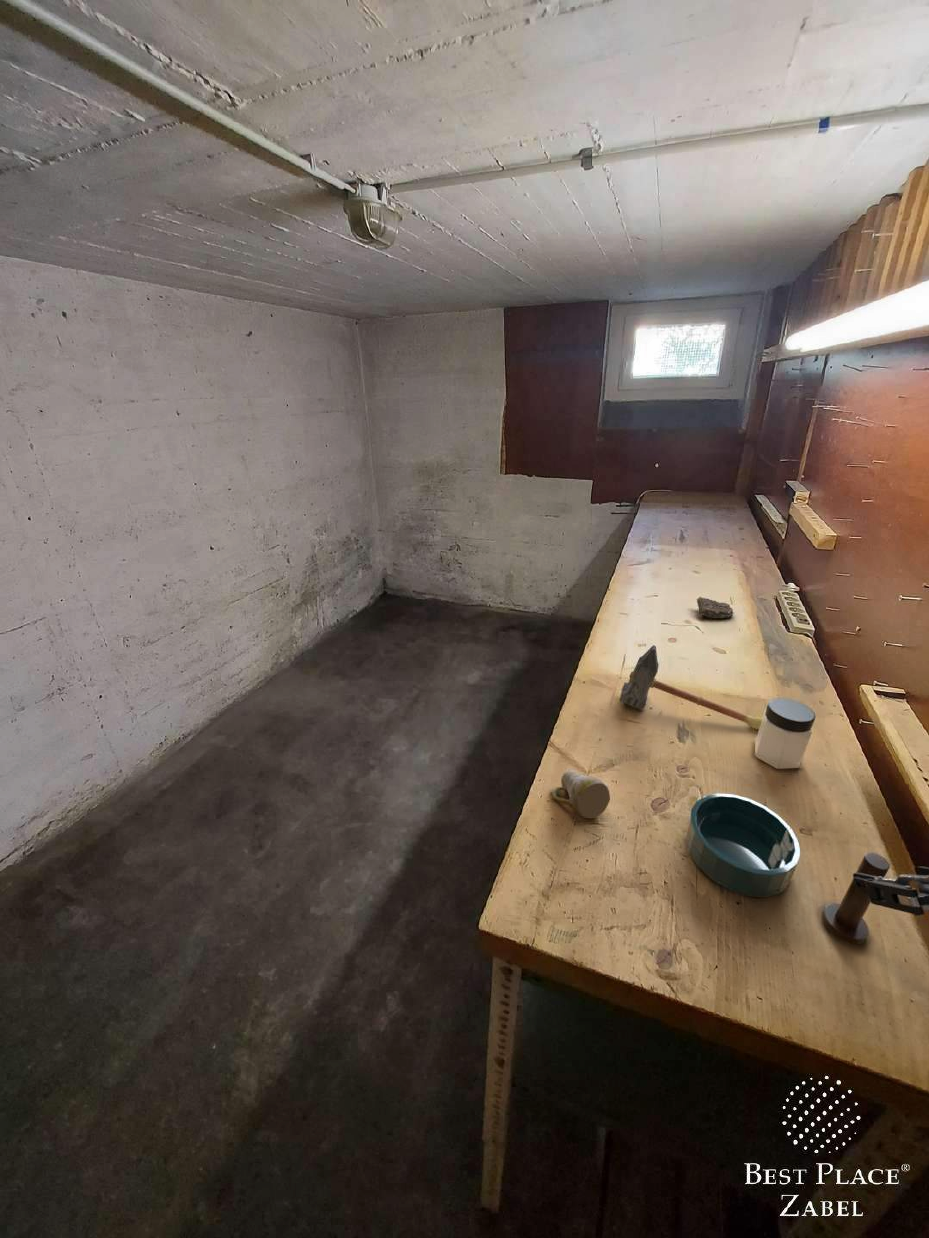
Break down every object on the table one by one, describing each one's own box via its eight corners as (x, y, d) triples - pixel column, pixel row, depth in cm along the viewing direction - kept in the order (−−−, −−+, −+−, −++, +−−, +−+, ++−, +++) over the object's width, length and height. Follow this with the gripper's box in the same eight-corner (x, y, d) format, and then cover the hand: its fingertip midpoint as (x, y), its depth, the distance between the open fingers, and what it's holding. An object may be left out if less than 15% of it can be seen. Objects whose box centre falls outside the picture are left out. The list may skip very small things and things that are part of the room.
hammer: (783, 701, 102) (642, 649, 110) (747, 753, 110) (618, 701, 118) (779, 686, 107) (644, 638, 114) (745, 737, 115) (621, 689, 123)
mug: (577, 775, 98) (603, 755, 91) (593, 825, 92) (622, 807, 85) (545, 777, 95) (570, 756, 88) (559, 828, 90) (586, 810, 82)
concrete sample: (694, 618, 160) (697, 604, 158) (694, 606, 168) (697, 593, 166) (733, 623, 156) (737, 609, 154) (731, 611, 164) (734, 597, 162)
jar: (808, 760, 100) (826, 713, 95) (787, 776, 96) (805, 728, 91) (765, 736, 107) (779, 691, 102) (744, 750, 103) (757, 704, 98)
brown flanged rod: (833, 901, 73) (865, 838, 67) (873, 932, 69) (910, 867, 63) (814, 918, 71) (844, 854, 65) (853, 951, 67) (890, 885, 61)
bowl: (723, 805, 90) (730, 781, 87) (810, 871, 78) (821, 845, 75) (664, 840, 84) (670, 815, 81) (749, 918, 71) (759, 892, 69)
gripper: (1080, 859, 49) (927, 841, 64) (950, 873, 48) (826, 851, 63) (1118, 945, 46) (950, 905, 62) (982, 962, 45) (846, 917, 61)
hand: (888, 878), depth 62 cm, fingers open, 8 cm apart
